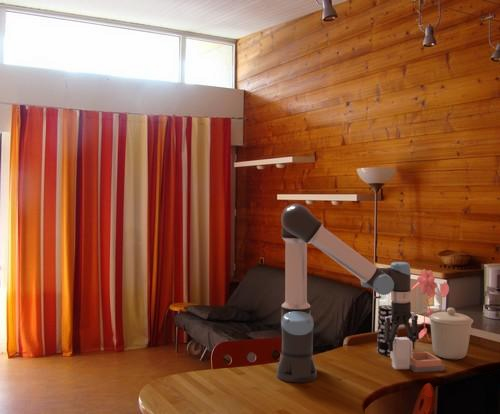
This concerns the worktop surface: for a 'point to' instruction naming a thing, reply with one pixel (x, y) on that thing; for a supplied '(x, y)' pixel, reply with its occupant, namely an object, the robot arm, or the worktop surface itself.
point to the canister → (450, 334)
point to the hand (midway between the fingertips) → (401, 357)
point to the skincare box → (401, 353)
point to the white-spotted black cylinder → (381, 344)
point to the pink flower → (429, 292)
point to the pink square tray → (425, 362)
